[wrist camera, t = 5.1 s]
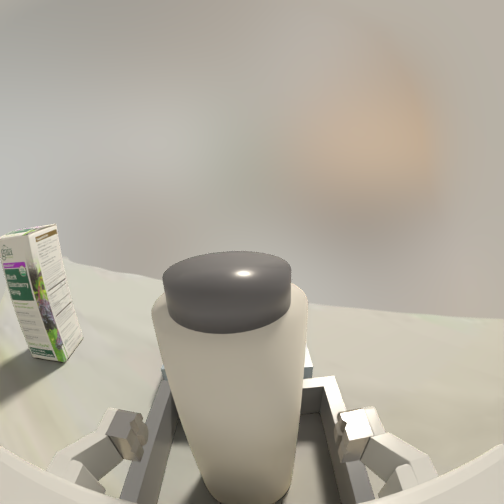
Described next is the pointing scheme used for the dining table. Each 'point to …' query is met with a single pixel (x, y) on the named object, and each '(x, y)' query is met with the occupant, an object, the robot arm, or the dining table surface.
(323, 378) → the frame
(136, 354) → the dining table surface
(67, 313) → the syrup box
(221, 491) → the canister
